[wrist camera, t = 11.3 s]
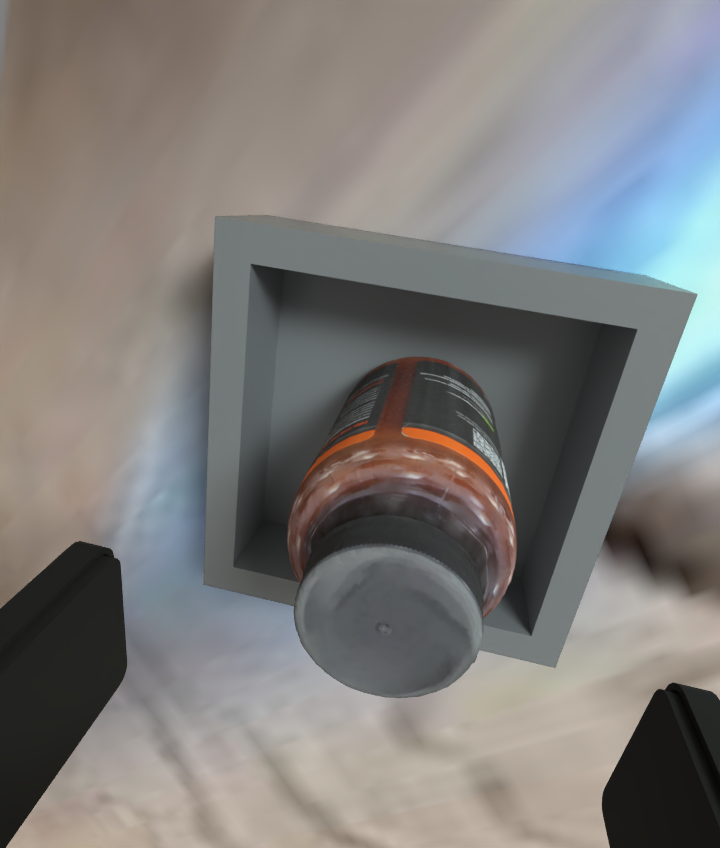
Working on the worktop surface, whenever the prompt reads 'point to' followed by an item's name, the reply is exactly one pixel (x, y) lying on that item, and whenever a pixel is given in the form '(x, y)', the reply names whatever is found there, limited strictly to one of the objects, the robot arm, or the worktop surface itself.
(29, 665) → the robot arm
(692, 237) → the worktop surface
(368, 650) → the supplement bottle
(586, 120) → the worktop surface
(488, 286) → the bin
